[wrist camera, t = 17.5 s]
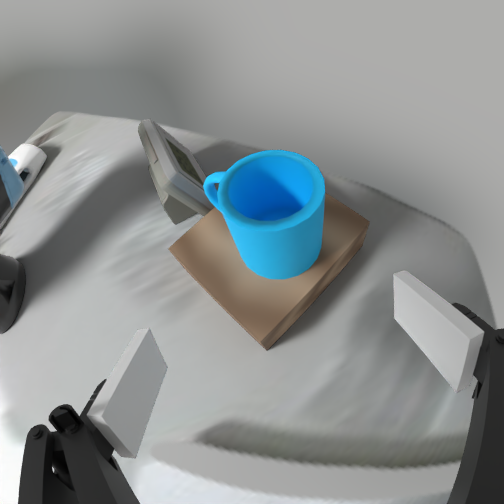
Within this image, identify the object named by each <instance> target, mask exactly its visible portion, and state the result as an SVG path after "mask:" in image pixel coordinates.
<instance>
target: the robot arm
mask: <svg viewBox="0 0 504 504" xmlns="http://www.w3.org/2000/svg"><path fill="white" fill-rule="evenodd" d="M23 191H24V183H23V181H22V179H21V177H20V176H19V174H18V172H17V171H16V169H15V168H14V166H13V165H12V163H11V161H10V160H9V158H8V157H7V155H6V154H5V152H4V150H3V149H2V147H1V146H0V224H1V223H2V221H3V220H4V219H5V217H6V216H7V215H8V213H9V212H10V211H11V210H12V209H13V208H14V205H15V203H16V202H17V201H18V199H19V198H20V197H21V195H22V193H23ZM393 279H394V319H395V320H396V321H397V322H398V323H399V324H400V325H401V327H402V328H403V329H404V330H405V331H406V332H407V333H408V335H409V336H410V337H411V338H412V339H413V340H414V342H415V343H416V344H417V345H418V346H419V348H420V349H421V350H422V351H423V352H424V354H425V355H426V356H427V357H428V358H429V360H430V361H431V362H432V363H433V365H434V366H435V367H436V368H437V369H438V371H439V372H440V373H441V374H442V376H443V377H444V378H445V379H446V381H447V382H448V383H449V385H450V386H451V387H452V388H453V390H454V391H455V392H456V393H457V392H459V391H461V390H463V389H465V388H467V387H468V386H470V384H471V381H472V377H473V375H474V376H475V377H476V378H477V380H478V382H477V385H476V387H475V390H474V393H473V396H472V398H474V397H475V398H474V405H473V411H472V417H471V422H470V427H469V432H468V437H467V441H466V445H465V449H464V453H463V457H462V461H461V464H460V468H459V471H458V474H457V477H456V480H455V483H454V486H453V489H452V492H451V495H450V497H449V500H448V502H447V504H504V329H497V330H494V329H493V328H492V327H491V326H490V325H488V324H487V323H486V322H485V321H483V320H482V319H481V318H480V317H477V315H476V314H474V313H473V312H471V310H469V309H468V308H467V307H465V306H463V305H461V304H458V303H454V304H450V303H448V302H447V301H446V300H445V299H443V298H442V297H441V296H439V295H438V294H437V293H436V292H434V291H433V290H432V289H430V288H429V287H428V286H426V285H425V284H424V283H422V282H421V281H420V280H418V279H417V278H416V277H414V276H413V275H411V274H410V273H409V272H407V271H406V270H404V271H401V272H397V273H394V274H393ZM24 290H25V271H24V268H23V266H22V264H21V263H20V262H18V261H17V260H16V259H14V258H13V257H10V256H6V255H2V254H0V334H1V333H3V332H5V331H6V330H7V329H8V328H9V327H10V326H11V325H12V323H13V322H14V320H15V318H16V316H17V314H18V311H19V309H20V306H21V303H22V299H23V295H24ZM167 368H168V367H167V365H166V363H165V361H164V359H163V356H162V354H161V352H160V350H159V348H158V346H157V344H156V341H155V339H154V337H153V335H152V332H151V330H150V328H145V329H139V330H137V331H136V333H135V335H134V336H133V338H132V339H131V341H130V343H129V344H128V346H127V347H126V349H125V351H124V352H123V354H122V355H121V357H120V359H119V360H118V362H117V364H116V365H115V367H114V369H113V370H112V372H111V374H110V375H109V377H108V379H105V380H104V381H102V382H101V383H100V384H99V385H98V386H97V388H96V389H95V391H94V393H93V395H92V396H91V398H90V400H89V401H88V403H87V405H86V406H85V408H84V410H83V411H82V413H81V415H80V417H79V415H78V414H77V413H76V411H75V410H74V409H73V407H72V406H71V405H68V404H64V405H61V406H58V407H57V408H55V409H54V410H53V411H52V412H51V414H50V415H49V421H50V423H51V424H52V425H53V426H54V428H55V429H56V430H57V431H55V432H50V431H49V429H48V428H47V427H46V426H45V425H43V424H41V425H37V426H34V427H33V428H31V430H30V431H29V432H28V435H27V438H26V444H25V449H24V455H23V462H22V469H21V477H20V486H19V499H18V504H140V503H139V501H138V499H137V498H136V496H135V494H134V493H133V491H132V489H131V487H130V486H129V484H128V482H127V480H126V478H125V477H124V475H123V473H122V471H121V469H120V467H119V465H118V463H117V461H116V459H115V458H114V457H113V456H112V453H113V451H114V449H115V451H116V452H117V453H118V454H119V455H120V456H121V457H128V458H136V456H137V453H138V450H139V447H140V444H141V441H142V438H143V435H144V432H145V429H146V427H147V424H148V421H149V418H150V415H151V412H152V409H153V407H154V404H155V401H156V398H157V395H158V393H159V390H160V387H161V384H162V382H163V379H164V376H165V374H166V371H167ZM52 467H53V468H54V473H53V471H52Z"/></svg>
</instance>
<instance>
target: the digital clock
mask: <svg viewBox="0 0 504 504" xmlns="http://www.w3.org/2000/svg"><path fill="white" fill-rule="evenodd" d="M138 133H139V136H140V139H141V141H142V144H143V147H144V149H145V152H146V155H147V157H148V160H149V162H150V165H149V167H148V169H149V172H150V175H151V177H152V180H153V182H154V185H155V188H156V190H157V193H158V195H159V198H160V200H161V203H162V205H163V208H164V210H165V211H166V213H167V214H168V216H169V217H170V219H171V220H172V222H173V223H174V224H175V225H176V224H178V223H180V222H182V221H184V220H185V219H187V218H189V217H191V216H193V215H195V214H196V213H199V214H201V215H202V216H205V215H206V214H208V213H209V212H210V211H211V210H212V209H213V208H215V206H214V205H213V204H212V203H211V202H210V201H209V199H208V198H207V196H206V194H205V192H204V188H203V185H204V182H205V179H206V178H207V177H206V176H205V174H204V172H203V171H202V169H201V168H200V166H199V164H198V163H197V161H196V160H195V158H194V157H193V155H192V154H191V152H190V151H189V150H188V149H187V148H185V147H184V146H183V145H182V144H181V143H179V142H178V141H177V140H176V139H175V138H173V137H172V136H171V135H170V134H169V133H167V132H166V131H165V130H164V129H163V128H161V127H160V126H159V125H158V124H156V123H155V122H154V121H153V120H151V119H146V120H142V121H141V123H140V124H139V128H138Z"/></svg>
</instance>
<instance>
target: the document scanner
mask: <svg viewBox="0 0 504 504" xmlns="http://www.w3.org/2000/svg"><path fill="white" fill-rule="evenodd" d="M8 158H9V160H10V161H11V163H12V165H13V166H14V168H15V169H16V171H17V172H18V174H20V173H21V172H22V171H24V172H27V173H28V176H27V178H26V179H25V180H24V182H23V183H24V191H23V193H22V195H21V197H20V198H19V199H18V201H17V202H16V203H15V205H14V208H15V207H16V205H17V204H18V202H19V201H20V200H21V198H22V197H23V195H24V194H25V192H26V191H27V190H28V188H29V187H30V186H31V184H32V183H33V182H34V180H35V179H36V177H37V175H38V173H39V171H40V169H41V167H42V165H43V164H44V162H45V160H46V158H47V156H46V154H45V153H44V152H43V151H42V149H40V148H38V147H36V146H34V145H31V144H22V145H20V146H19V147H18V148H17V149H16V150H15V151H14V152H13V153H12V154H11V155H10V156H8ZM14 208H13V209H12V210H11V211H10V212H9V213H8V215H7V216H6V217H5V219H4V220H3V221H2V223H1V224H0V229H1V228H2V227H3V226H4V224H5V222H6V221H7V219H8V218H9V216H10V214H11V213H12V211H13V210H14Z"/></svg>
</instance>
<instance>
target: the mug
mask: <svg viewBox="0 0 504 504" xmlns="http://www.w3.org/2000/svg"><path fill="white" fill-rule="evenodd" d="M214 183H219V187H218V191H217V190H216V188H215V184H214ZM203 188H204V192H205V194H206V196H207V198H208V199H209V201H210V202H211V203H212V204H213V205H214V206H215V207H216V208H217V209H218V210H219V211H220V212H221V213H222V214H223V216H224V219H225V221H226V223H227V226H228V228H229V230H230V233H231V235H232V237H233V240H234V242H235V244H236V246H237V249H238V251H239V253H240V256H241V258H242V259H243V261H244V262H245V264H246V265H247V267H248V268H249V269H251V270H252V271H253V272H255V273H256V274H257V275H260V276H263V277H265V278H268V279H288V278H292V277H295V276H298V275H300V274H301V273H303V272H305V271H306V270H308V269H309V268H310V267H311V266H312V264H313V263H314V262H315V261H316V260H317V258H318V255H319V252H320V250H321V245H322V233H323V219H324V202H325V183H324V178H323V176H322V174H321V172H320V170H319V168H318V167H317V166H316V165H315V164H314V163H313V162H312V161H310V160H309V159H308V158H306V157H304V156H302V155H299V154H297V153H295V152H290V151H284V150H265V151H261V152H258V153H254V154H250V155H248V156H246V157H244V158H243V159H241V160H239V161H237V162H236V163H235V164H234V165H232V166H231V167H230V168H229V169H228V170H227V171H226V172H215V173H213V174H211V175H209V176H208V177H207V178H206V179H205V182H204V185H203Z"/></svg>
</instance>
